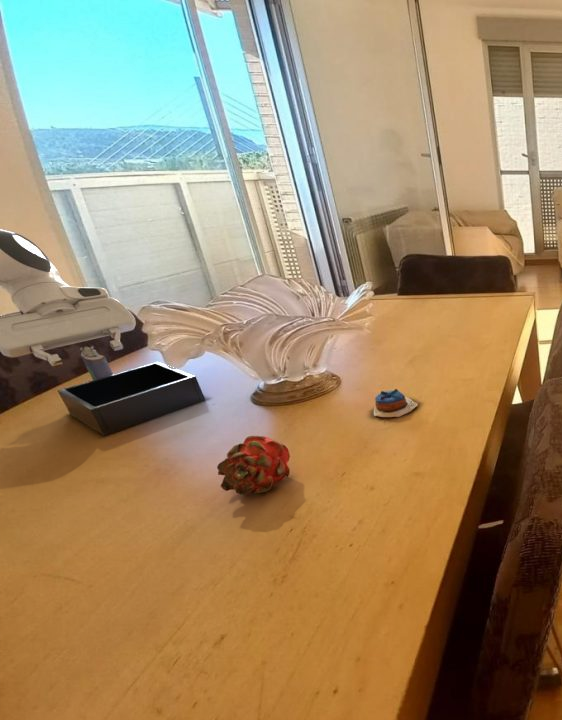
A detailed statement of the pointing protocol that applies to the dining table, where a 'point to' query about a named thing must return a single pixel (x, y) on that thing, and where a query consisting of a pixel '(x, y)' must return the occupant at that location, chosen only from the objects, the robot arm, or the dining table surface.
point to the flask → (95, 363)
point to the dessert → (392, 404)
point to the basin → (131, 397)
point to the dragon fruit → (254, 465)
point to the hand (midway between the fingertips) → (89, 355)
